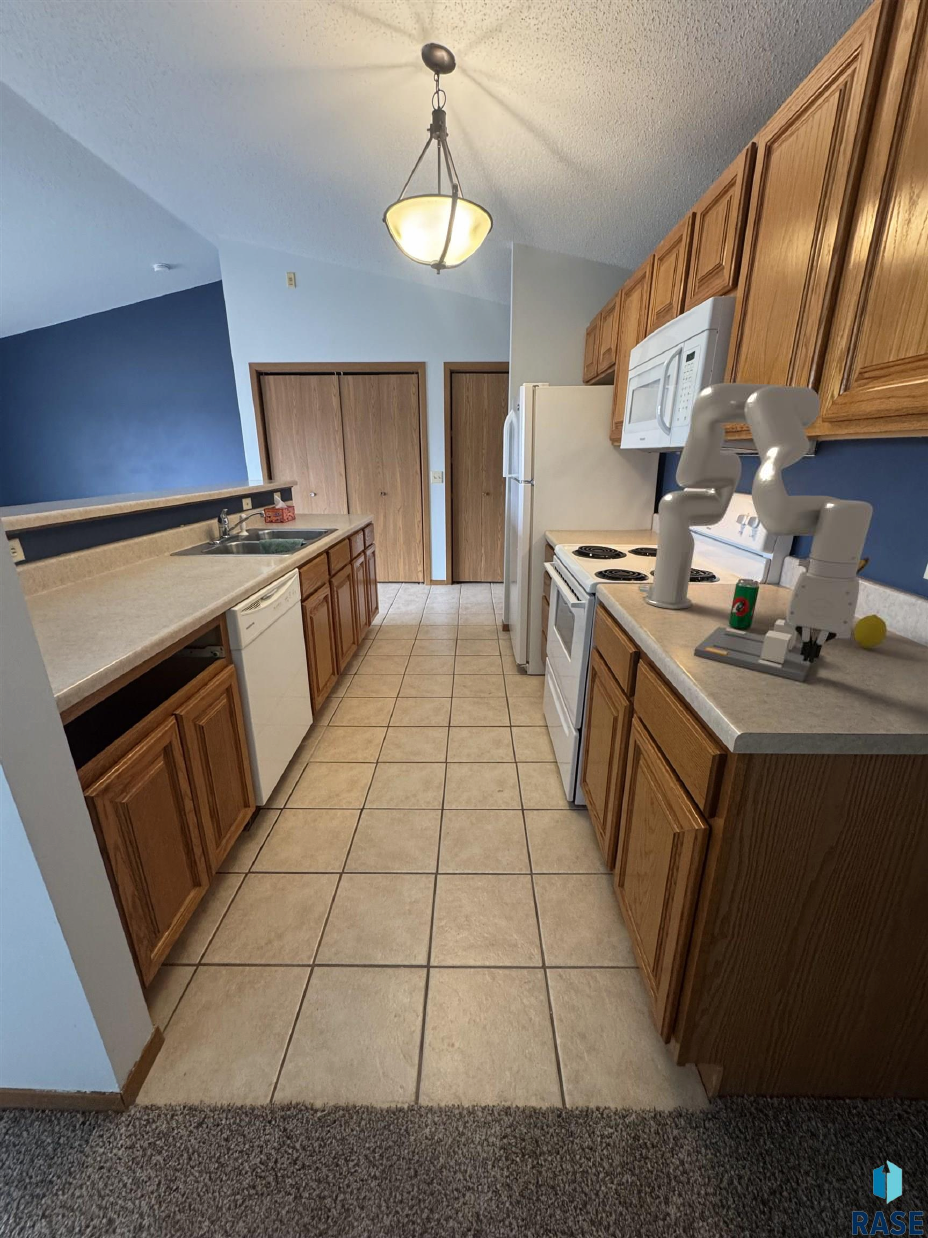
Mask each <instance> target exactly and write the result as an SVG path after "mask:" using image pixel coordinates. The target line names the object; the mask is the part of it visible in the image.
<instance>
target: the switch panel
mask: <svg viewBox="0 0 928 1238" xmlns="http://www.w3.org/2000/svg"><path fill="white" fill-rule="evenodd" d="M764 639H765V635H760V634H756V633H750V632H746V631H743V630H739V629H734V628H733V629H732V628H726V627H722V626H718V627H716V629H714V630H713V631H712V632H711V633H710V634H709V635H708V636H707V637H706V638H705V639H704V640H703V641H702V642H700V643H699V644H698V645H696V646H695V648H694V651H693V656H696V657H701V658H704V659H707V660H708V659H709V660H713V661H717V662H720V663H725V664H728V665H734V666H736V667H742V668H745V669H748V670H753V671H757V672H762V673H765V674H770V675H772V676H773V675H774V676H777V677H782V678H786V679H790V680H793V681H798V682H804V679H805V678H806V675H807V673H808V671H809V670H810V667H811V665H812V663H809V662H808V661H806V662H805V661H803V658H804V656H803V655H800V654H801V649H802V645H803V643H799V642H796V641H795V645H794V646H793V648H792V650H789V649H788V654H787V658H786V659H785V661H784V663H783V664H782V663H778V662H774V661H770V660H765V659H761V653H762V648H763V644H764ZM808 660H809V659H808Z"/></svg>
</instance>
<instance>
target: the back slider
mask: <svg viewBox="0 0 928 1238" xmlns="http://www.w3.org/2000/svg"><path fill="white" fill-rule="evenodd" d="M785 620H786V619H777V620H776V622H775V623H774V627H773V630H772V631H775V632H780V633H785V634H790V635H792V636H791V641H790V645H789V650H792V648H793V646H794V645H795V642H796V640H797V637H798V636H797V635H798V633H797V632H796V630H793V629H790V628H788V627H785V626H784V622H785Z"/></svg>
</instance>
